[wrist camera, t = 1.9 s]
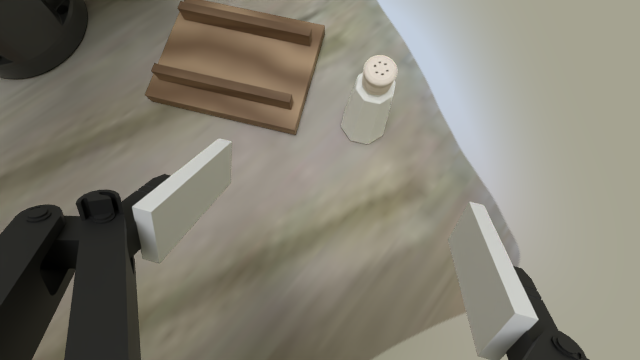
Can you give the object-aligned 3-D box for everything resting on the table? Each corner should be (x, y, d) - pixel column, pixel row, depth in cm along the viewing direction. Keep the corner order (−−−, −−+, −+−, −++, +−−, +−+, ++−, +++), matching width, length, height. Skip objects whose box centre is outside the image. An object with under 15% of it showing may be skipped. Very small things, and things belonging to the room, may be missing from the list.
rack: (295, 134, 35) (292, 123, 32) (152, 101, 36) (135, 86, 33) (324, 34, 38) (324, 14, 34) (191, 6, 39) (179, -16, 36)
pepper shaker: (336, 106, 36) (342, 44, 25) (380, 98, 36) (405, 35, 25) (344, 148, 34) (354, 103, 24) (390, 141, 34) (421, 92, 24)
